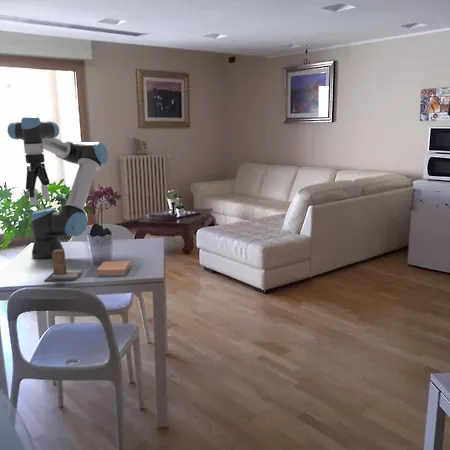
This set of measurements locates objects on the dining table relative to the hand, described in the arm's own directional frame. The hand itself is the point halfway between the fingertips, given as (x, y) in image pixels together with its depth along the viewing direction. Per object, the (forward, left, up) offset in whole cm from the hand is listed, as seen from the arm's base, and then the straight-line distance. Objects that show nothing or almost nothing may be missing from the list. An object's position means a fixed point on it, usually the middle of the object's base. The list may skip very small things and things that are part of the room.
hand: (40, 202), depth 207 cm
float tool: (+14, +14, -30) cm, 36 cm away
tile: (+8, +26, -29) cm, 40 cm away
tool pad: (+14, +12, -31) cm, 36 cm away
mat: (+8, +32, -31) cm, 45 cm away
